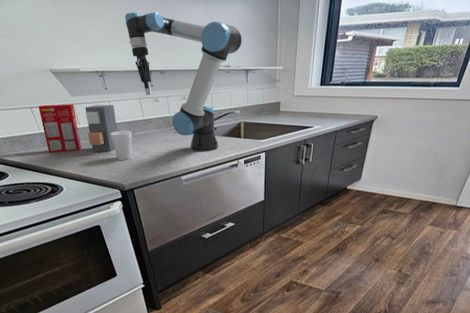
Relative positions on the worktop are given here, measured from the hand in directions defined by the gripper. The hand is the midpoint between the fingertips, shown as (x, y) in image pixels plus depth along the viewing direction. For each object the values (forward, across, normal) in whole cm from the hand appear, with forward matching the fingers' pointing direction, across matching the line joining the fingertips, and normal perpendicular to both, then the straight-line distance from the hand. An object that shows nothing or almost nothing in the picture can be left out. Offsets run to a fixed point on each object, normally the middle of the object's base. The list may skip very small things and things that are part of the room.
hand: (149, 94), depth 142 cm
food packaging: (+25, +3, -53) cm, 58 cm away
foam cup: (+29, +19, -12) cm, 36 cm away
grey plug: (+11, +3, -29) cm, 31 cm away
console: (+27, +1, -30) cm, 40 cm away
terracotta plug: (+22, +4, -30) cm, 37 cm away
